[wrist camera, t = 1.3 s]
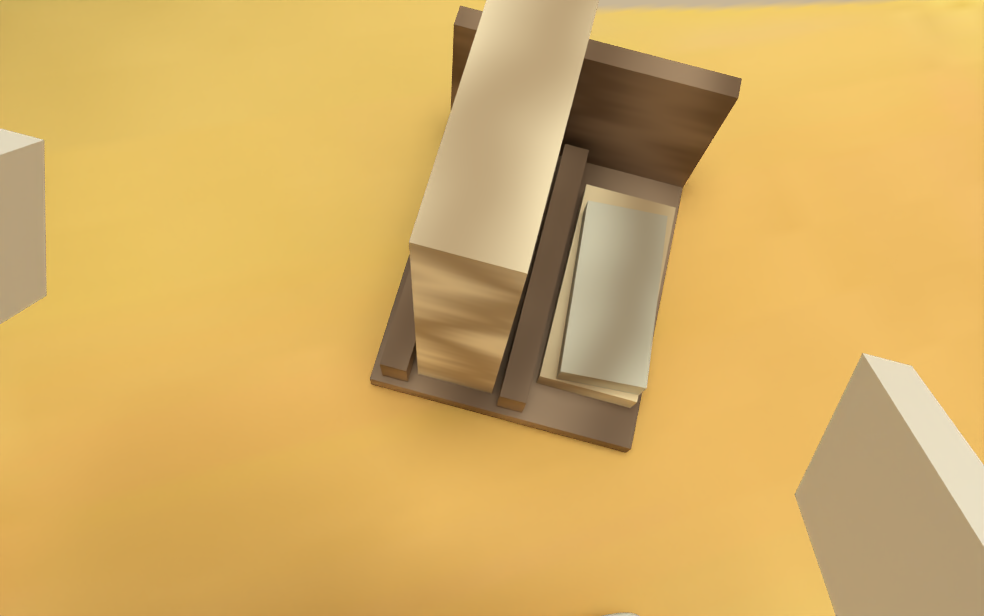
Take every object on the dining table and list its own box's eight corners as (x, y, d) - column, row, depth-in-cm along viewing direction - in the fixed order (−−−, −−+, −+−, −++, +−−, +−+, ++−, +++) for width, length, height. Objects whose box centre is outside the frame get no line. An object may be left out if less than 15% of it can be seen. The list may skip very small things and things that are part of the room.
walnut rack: (371, 383, 38) (353, 325, 30) (457, 113, 43) (463, -4, 35) (626, 452, 38) (682, 412, 29) (682, 171, 43) (743, 69, 34)
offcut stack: (536, 383, 38) (543, 368, 35) (581, 196, 41) (591, 171, 38) (631, 408, 37) (645, 395, 35) (669, 219, 41) (684, 195, 38)
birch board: (418, 373, 37) (408, 242, 23) (483, 153, 41) (510, -75, 27) (491, 393, 37) (527, 273, 23) (550, 170, 41) (611, -48, 27)
